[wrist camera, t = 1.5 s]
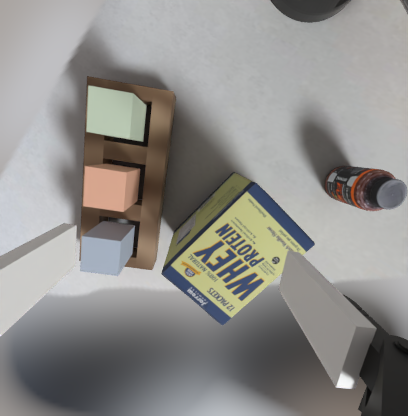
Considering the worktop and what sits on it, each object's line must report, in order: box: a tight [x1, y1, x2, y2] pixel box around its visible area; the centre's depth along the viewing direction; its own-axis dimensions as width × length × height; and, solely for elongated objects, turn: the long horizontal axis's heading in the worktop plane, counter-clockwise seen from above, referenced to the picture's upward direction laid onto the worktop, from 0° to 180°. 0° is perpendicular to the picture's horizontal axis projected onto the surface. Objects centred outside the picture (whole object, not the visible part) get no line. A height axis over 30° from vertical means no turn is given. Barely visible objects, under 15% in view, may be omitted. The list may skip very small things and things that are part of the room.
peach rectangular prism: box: [83, 164, 140, 212], centre depth 32 cm, size 5×5×7 cm
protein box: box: [162, 172, 315, 325], centre depth 34 cm, size 10×16×16 cm
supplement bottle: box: [325, 166, 407, 211], centre depth 35 cm, size 6×6×11 cm
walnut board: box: [79, 76, 176, 270], centre depth 38 cm, size 28×12×4 cm, turn 171°
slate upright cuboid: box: [80, 221, 135, 276], centre depth 34 cm, size 5×5×7 cm
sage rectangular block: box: [86, 85, 147, 142], centre depth 30 cm, size 5×5×7 cm
